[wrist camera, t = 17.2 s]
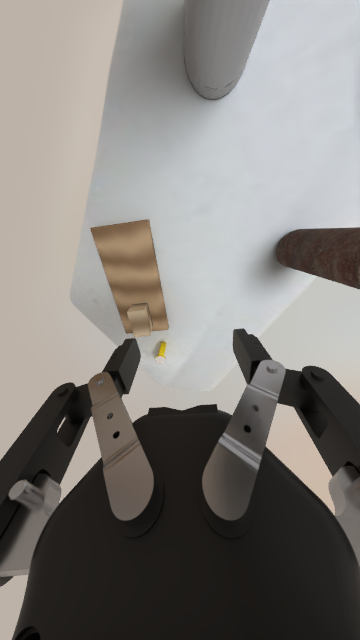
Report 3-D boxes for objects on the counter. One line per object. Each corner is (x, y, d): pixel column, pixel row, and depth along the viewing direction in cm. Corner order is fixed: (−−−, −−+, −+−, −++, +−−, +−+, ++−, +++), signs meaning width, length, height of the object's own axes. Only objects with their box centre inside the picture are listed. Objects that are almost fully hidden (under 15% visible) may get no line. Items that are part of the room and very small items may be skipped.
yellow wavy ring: (159, 338, 48) (157, 349, 42) (169, 340, 48) (167, 351, 43) (156, 354, 50) (153, 366, 45) (164, 355, 50) (163, 368, 45)
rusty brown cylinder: (266, 249, 35) (349, 266, 18) (297, 219, 32) (431, 205, 15) (286, 272, 37) (376, 307, 20) (316, 246, 35) (452, 261, 17)
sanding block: (132, 304, 41) (126, 312, 37) (147, 302, 40) (143, 310, 36) (138, 327, 44) (134, 337, 40) (153, 326, 44) (150, 335, 40)
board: (93, 228, 34) (90, 228, 33) (149, 220, 33) (147, 219, 32) (127, 330, 46) (126, 333, 45) (168, 326, 45) (168, 329, 44)
